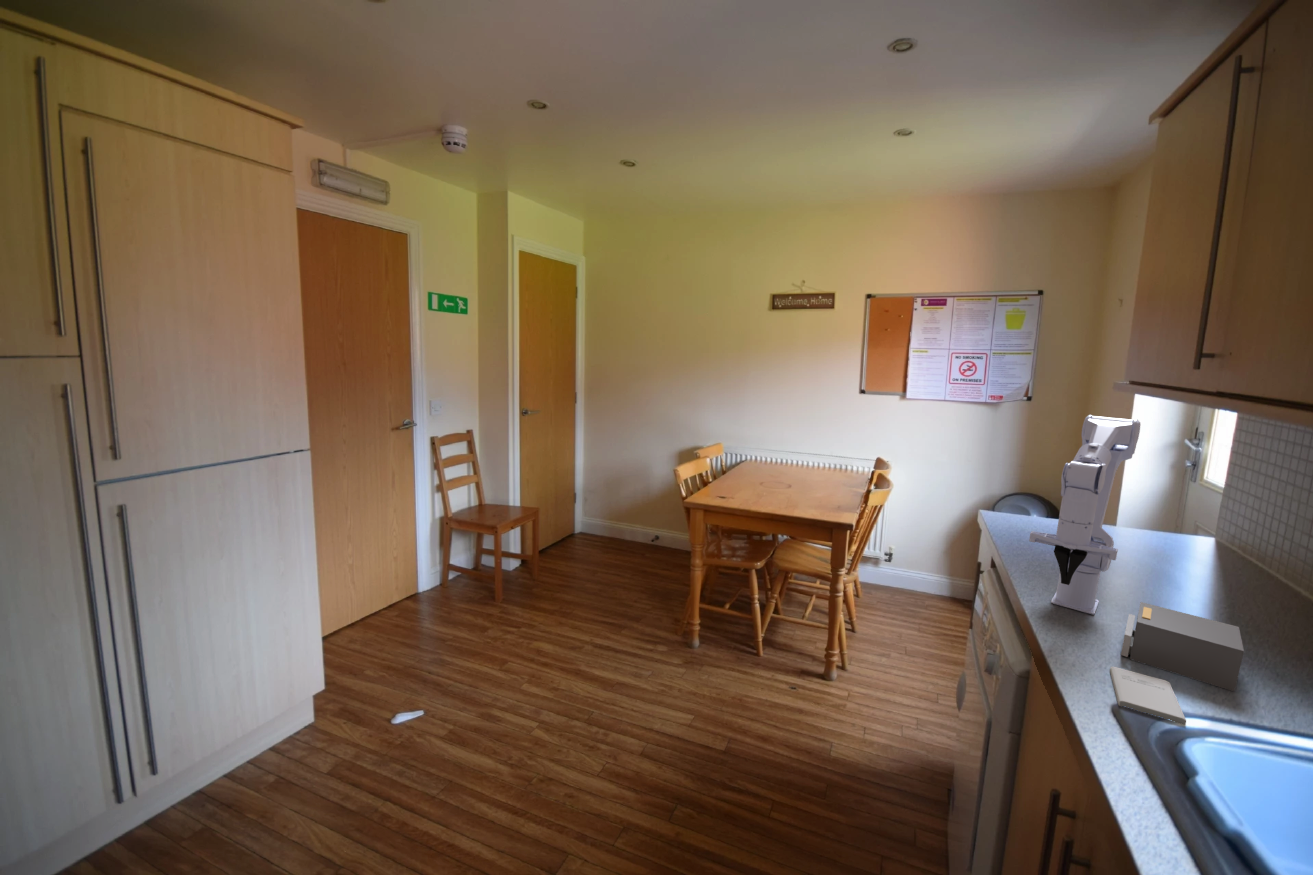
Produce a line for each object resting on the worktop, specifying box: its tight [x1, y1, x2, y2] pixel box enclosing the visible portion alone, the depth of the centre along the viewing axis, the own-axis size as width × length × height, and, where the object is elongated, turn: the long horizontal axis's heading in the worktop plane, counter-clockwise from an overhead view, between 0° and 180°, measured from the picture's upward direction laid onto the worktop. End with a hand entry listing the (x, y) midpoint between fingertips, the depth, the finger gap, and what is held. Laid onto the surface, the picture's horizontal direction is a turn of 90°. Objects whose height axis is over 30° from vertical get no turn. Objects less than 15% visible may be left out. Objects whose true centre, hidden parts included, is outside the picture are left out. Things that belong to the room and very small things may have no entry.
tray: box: [1120, 613, 1136, 658], centre depth 107 cm, size 12×14×4 cm
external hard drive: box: [1109, 666, 1187, 726], centre depth 95 cm, size 2×8×12 cm
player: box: [1129, 601, 1245, 693], centre depth 106 cm, size 12×14×8 cm
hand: (1065, 582), depth 118 cm, fingers closed
